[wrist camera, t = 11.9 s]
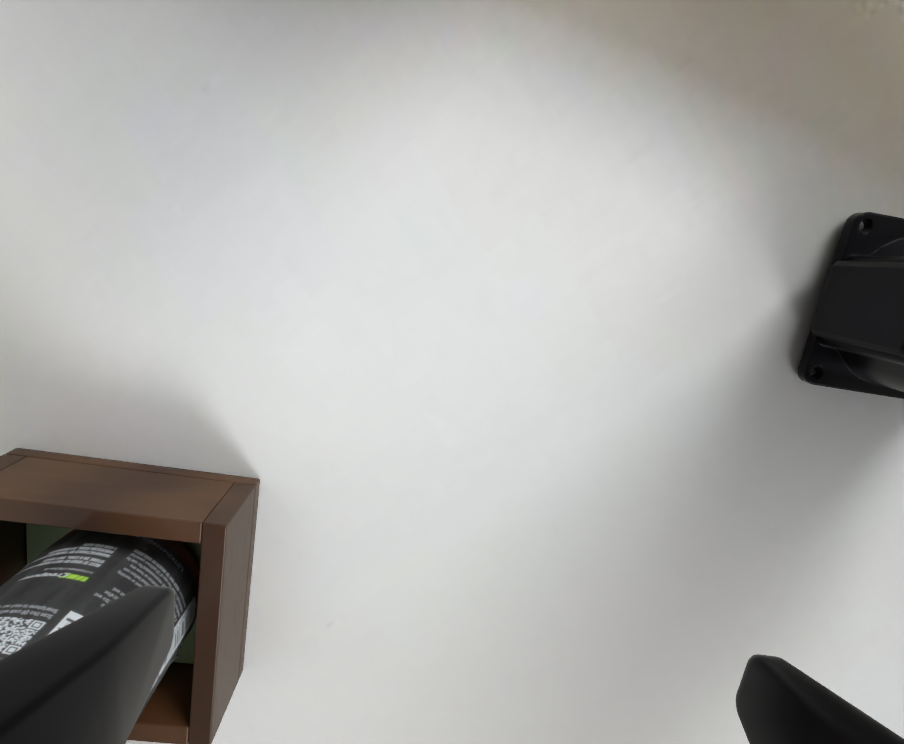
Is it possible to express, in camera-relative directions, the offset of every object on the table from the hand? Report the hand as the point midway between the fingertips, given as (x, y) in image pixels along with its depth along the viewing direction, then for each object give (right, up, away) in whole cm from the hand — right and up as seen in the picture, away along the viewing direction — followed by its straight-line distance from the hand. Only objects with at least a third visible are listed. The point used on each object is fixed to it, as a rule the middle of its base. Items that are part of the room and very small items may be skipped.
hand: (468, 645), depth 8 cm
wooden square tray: (-13, -4, +13) cm, 19 cm away
